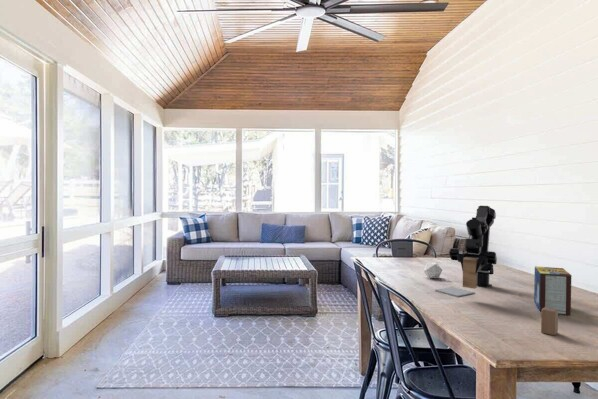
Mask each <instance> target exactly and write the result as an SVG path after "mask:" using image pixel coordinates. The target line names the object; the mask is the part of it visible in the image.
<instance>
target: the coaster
mask: <svg viewBox="0 0 598 399" xmlns="http://www.w3.org/2000/svg"><path fill="white" fill-rule="evenodd" d="M435 292H437V293H441V294H446V295H448V296H449V295H450V296H452V297H455V298H459V297H465V296H469V295H473V294H475V293H476V292H474V291H471V290H467V289H463V288H459V287H456V286H455V287H454V286H449V287H445V288H444V287H443V288H438V289H435Z"/></svg>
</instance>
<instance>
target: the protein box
mask: <svg viewBox="0 0 598 399" xmlns="http://www.w3.org/2000/svg"><path fill="white" fill-rule="evenodd" d="M533 289H534V290H533V292H534V293H533V303H534V305H535V306H536V308H537V310H538V312H539V311H540V312H539V313H541V310H542V309H543V308H544V307H548V308H554V309H558V315H562V314H565V315H564V316H571V315H572V274H571V273H570V272H568V270H566V269H565V268H563V267H551V266H536V265H535V266H534V288H533Z"/></svg>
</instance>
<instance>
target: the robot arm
mask: <svg viewBox="0 0 598 399" xmlns="http://www.w3.org/2000/svg"><path fill="white" fill-rule="evenodd" d="M496 216H497V213H496V210H495V209H493V208H492V207H491V206H489V205H479V206H478V207H477V209H476V215H475V217H473V216H472V218H471V219H469V220H467V221H466V223H465V225H466V230H467V234H468V238H465V239H464V247H465V248H464V251H465V252H464V251H463V250H460V248H456V247H455V248H453V247H450V249H449V252H448V253H449V254H448V255H449V257H450V259H451V261H457V262H458V263H460V265H461V269H462V270H461V271H462V272H463V259H464V258H465V257H467V258H477V259H478V264H477V267H476V273H478V281H477V287H484V288H487V287H492V286H493V284H491V283H490V276H491V275H494V265H496V264H497V260H498V257H497V252H495V251H489V246H490V245H489V243H490V234H491V233H490V231H491V227H492V226H493V225H494V223H495V220H496Z"/></svg>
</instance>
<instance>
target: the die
mask: <svg viewBox="0 0 598 399" xmlns="http://www.w3.org/2000/svg"><path fill="white" fill-rule="evenodd" d="M423 272H424V274H425V276H426V277H427V278H428V279H429V278H439V279H440V276H441V274H442V272H443V268H442V267H441V266H440V264H438V262H426V264H425V267H424V269H423Z"/></svg>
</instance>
